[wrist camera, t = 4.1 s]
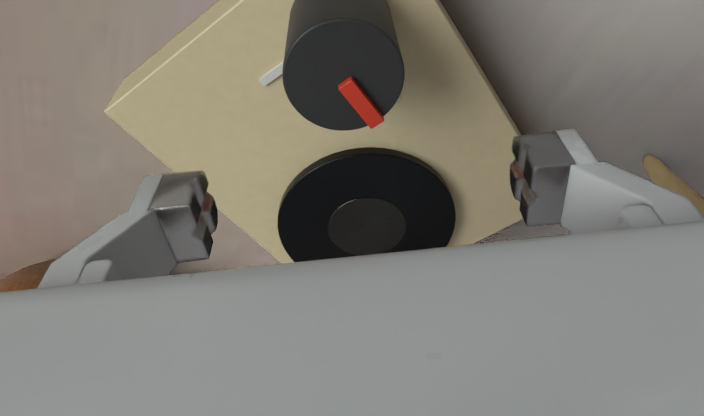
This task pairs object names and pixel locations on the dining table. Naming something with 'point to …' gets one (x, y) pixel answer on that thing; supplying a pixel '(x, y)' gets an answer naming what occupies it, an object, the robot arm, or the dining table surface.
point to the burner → (365, 206)
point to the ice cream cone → (671, 181)
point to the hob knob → (342, 62)
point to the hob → (302, 135)
